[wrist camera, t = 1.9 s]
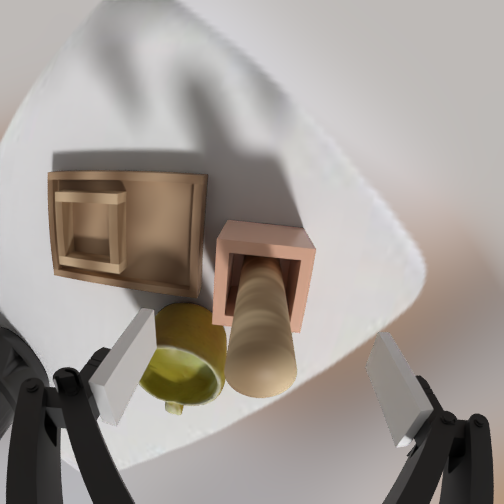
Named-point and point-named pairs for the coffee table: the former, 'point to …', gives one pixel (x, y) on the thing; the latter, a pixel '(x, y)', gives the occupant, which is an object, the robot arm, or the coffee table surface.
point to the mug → (186, 358)
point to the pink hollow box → (269, 245)
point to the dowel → (260, 332)
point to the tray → (129, 228)
